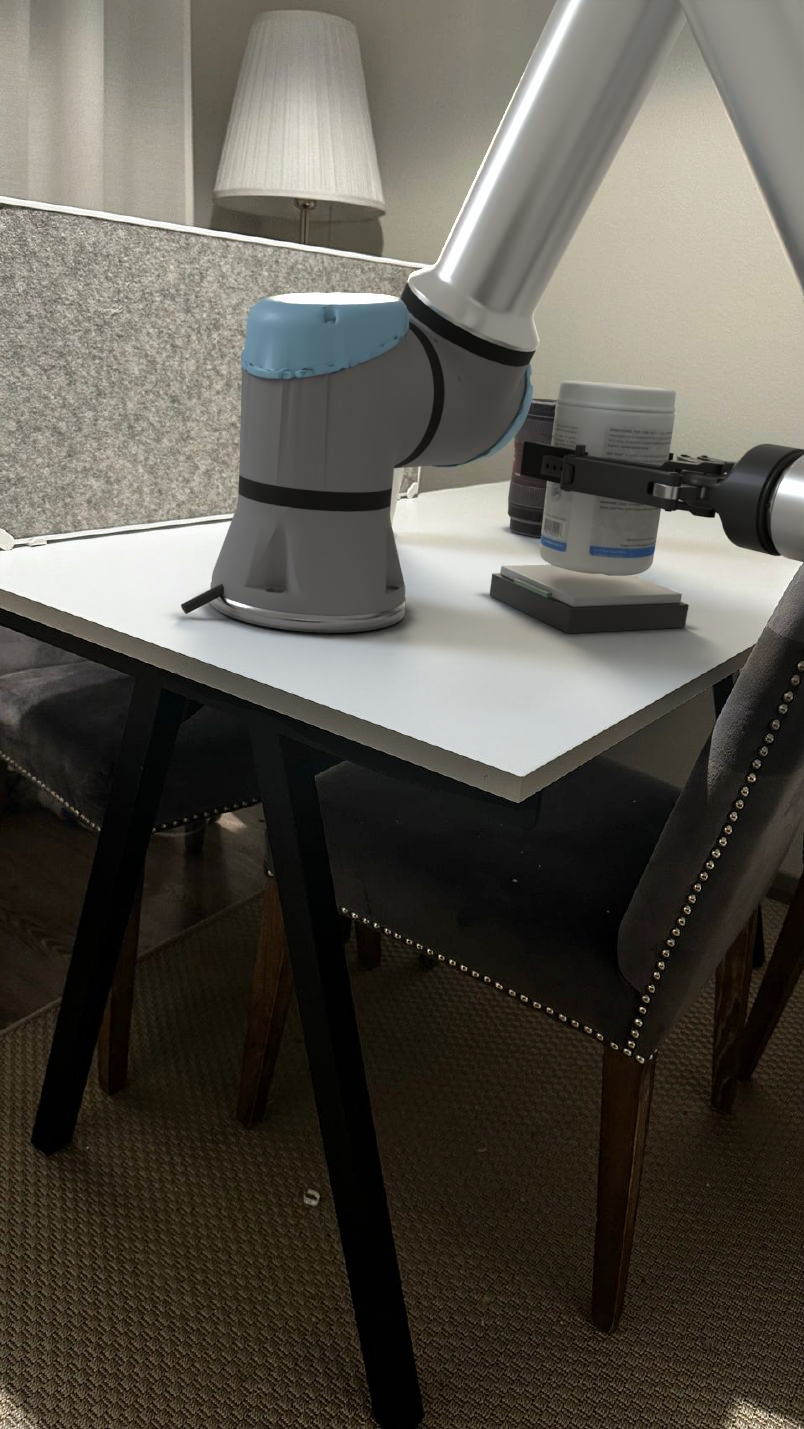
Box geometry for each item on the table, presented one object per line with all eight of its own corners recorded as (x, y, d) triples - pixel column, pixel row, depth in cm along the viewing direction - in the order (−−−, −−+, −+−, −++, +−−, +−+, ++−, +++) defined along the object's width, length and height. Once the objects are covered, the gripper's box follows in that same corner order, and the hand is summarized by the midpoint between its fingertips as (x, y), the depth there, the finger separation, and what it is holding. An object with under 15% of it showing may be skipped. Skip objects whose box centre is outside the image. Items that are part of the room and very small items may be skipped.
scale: (567, 633, 86) (572, 599, 85) (489, 595, 96) (493, 564, 95) (685, 627, 91) (691, 595, 91) (599, 592, 101) (603, 562, 100)
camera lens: (490, 525, 130) (506, 395, 125) (549, 526, 134) (566, 399, 129) (524, 539, 124) (541, 402, 119) (584, 540, 127) (604, 407, 122)
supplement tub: (660, 566, 95) (690, 390, 90) (638, 584, 86) (669, 392, 82) (552, 548, 98) (576, 378, 93) (521, 564, 90) (545, 378, 85)
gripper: (685, 566, 71) (465, 505, 88) (870, 550, 84) (648, 500, 101) (706, 448, 69) (475, 408, 85) (894, 451, 82) (662, 416, 98)
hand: (569, 458), depth 93 cm, fingers closed on supplement tub, 9 cm apart
